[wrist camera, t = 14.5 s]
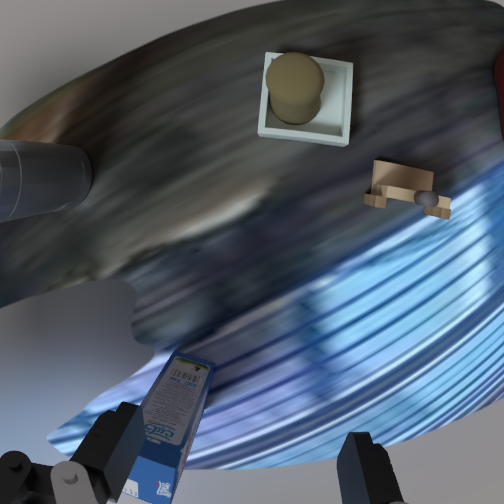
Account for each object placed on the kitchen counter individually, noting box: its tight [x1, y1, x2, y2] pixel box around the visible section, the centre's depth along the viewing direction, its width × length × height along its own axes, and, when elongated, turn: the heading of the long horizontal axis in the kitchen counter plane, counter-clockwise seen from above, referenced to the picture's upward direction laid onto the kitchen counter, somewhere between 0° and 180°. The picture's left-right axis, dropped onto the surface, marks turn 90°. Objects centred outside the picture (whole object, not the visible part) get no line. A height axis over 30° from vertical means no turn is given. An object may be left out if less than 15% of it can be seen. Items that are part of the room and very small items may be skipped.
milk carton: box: [122, 351, 215, 504], centre depth 34 cm, size 10×6×20 cm, turn 166°
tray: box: [258, 52, 353, 147], centre depth 33 cm, size 10×10×3 cm
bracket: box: [363, 160, 451, 220], centre depth 31 cm, size 10×5×9 cm, turn 85°
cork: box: [265, 52, 325, 125], centre depth 28 cm, size 6×6×11 cm
